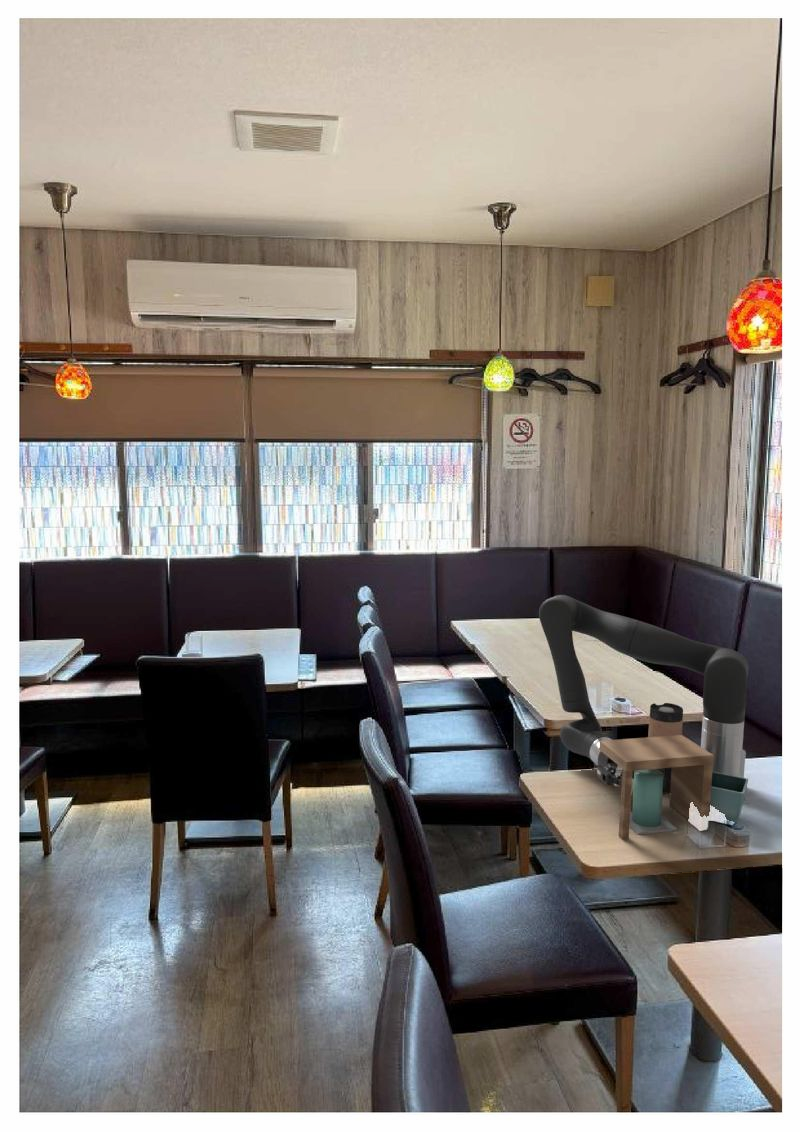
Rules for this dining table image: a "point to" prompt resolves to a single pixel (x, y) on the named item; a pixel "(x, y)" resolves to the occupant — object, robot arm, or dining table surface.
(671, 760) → the brown wooden shelf stand
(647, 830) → the mat
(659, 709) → the travel mug
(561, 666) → the robot arm
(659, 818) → the teal glossy cylinder
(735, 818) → the flower pot
